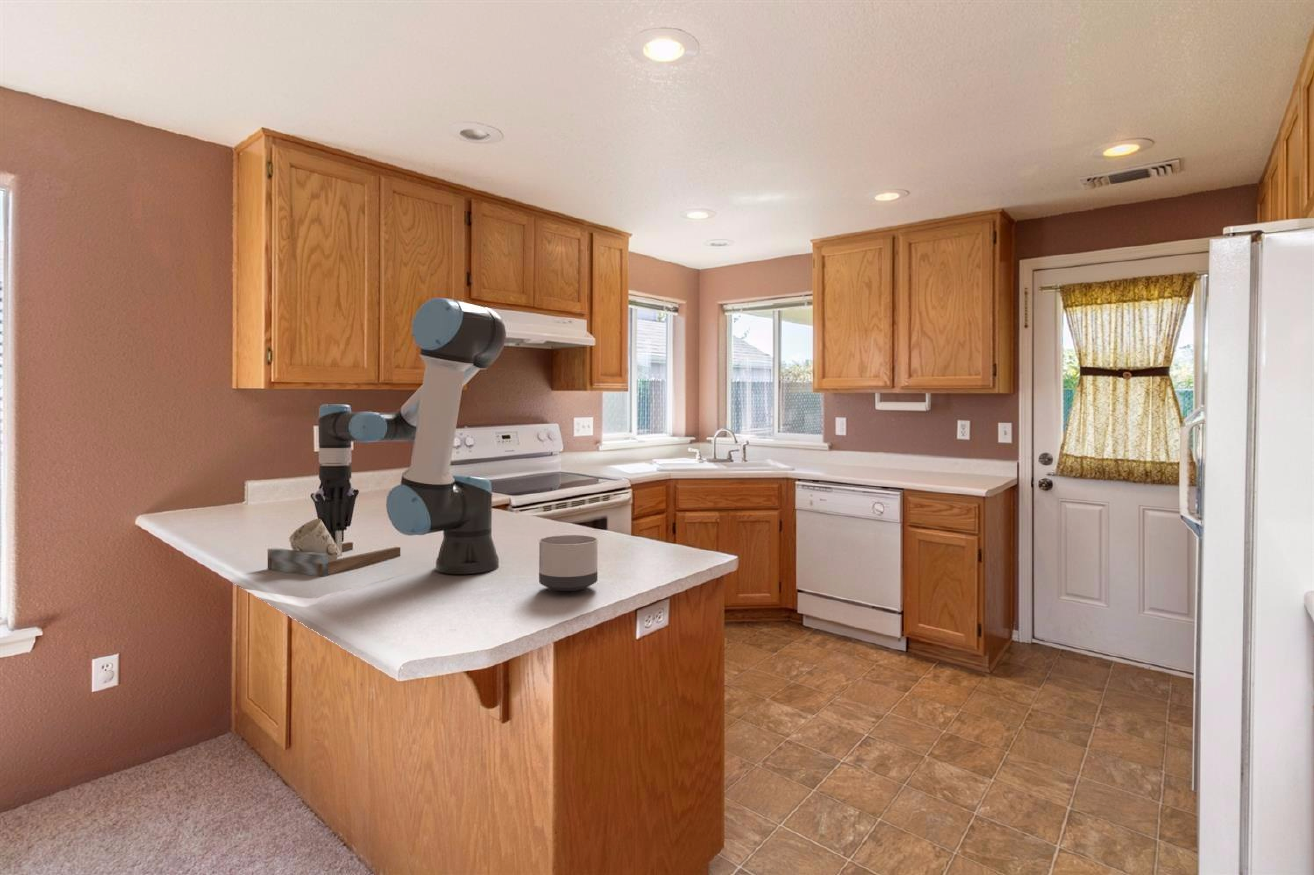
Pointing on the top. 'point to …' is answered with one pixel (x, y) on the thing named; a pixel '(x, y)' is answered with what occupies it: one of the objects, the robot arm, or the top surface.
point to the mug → (314, 539)
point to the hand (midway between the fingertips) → (335, 555)
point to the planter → (568, 562)
